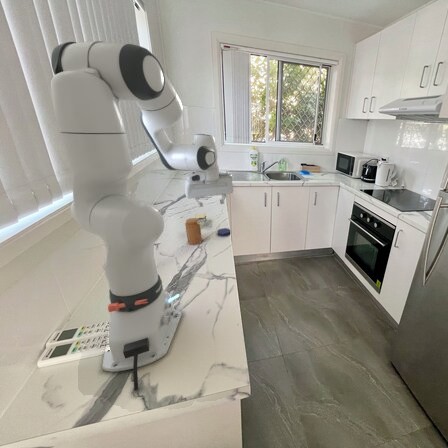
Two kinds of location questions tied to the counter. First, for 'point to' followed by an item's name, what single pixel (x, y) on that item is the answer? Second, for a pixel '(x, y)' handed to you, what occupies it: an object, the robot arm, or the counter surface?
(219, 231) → the lid
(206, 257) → the counter surface
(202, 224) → the stacked layers on plate
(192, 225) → the jar
